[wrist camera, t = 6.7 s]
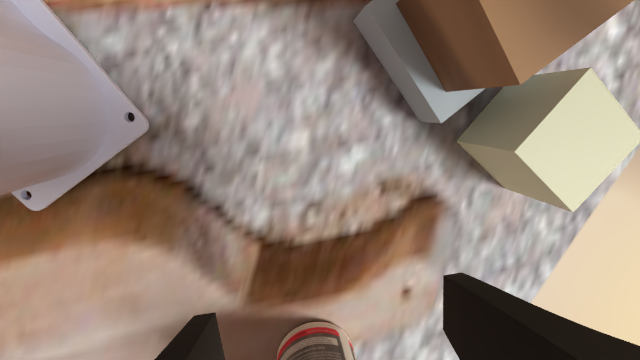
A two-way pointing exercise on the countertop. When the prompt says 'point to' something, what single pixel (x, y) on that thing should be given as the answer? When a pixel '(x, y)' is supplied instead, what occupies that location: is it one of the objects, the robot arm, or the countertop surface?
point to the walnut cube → (499, 36)
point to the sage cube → (552, 137)
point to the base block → (408, 63)
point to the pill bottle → (316, 343)
